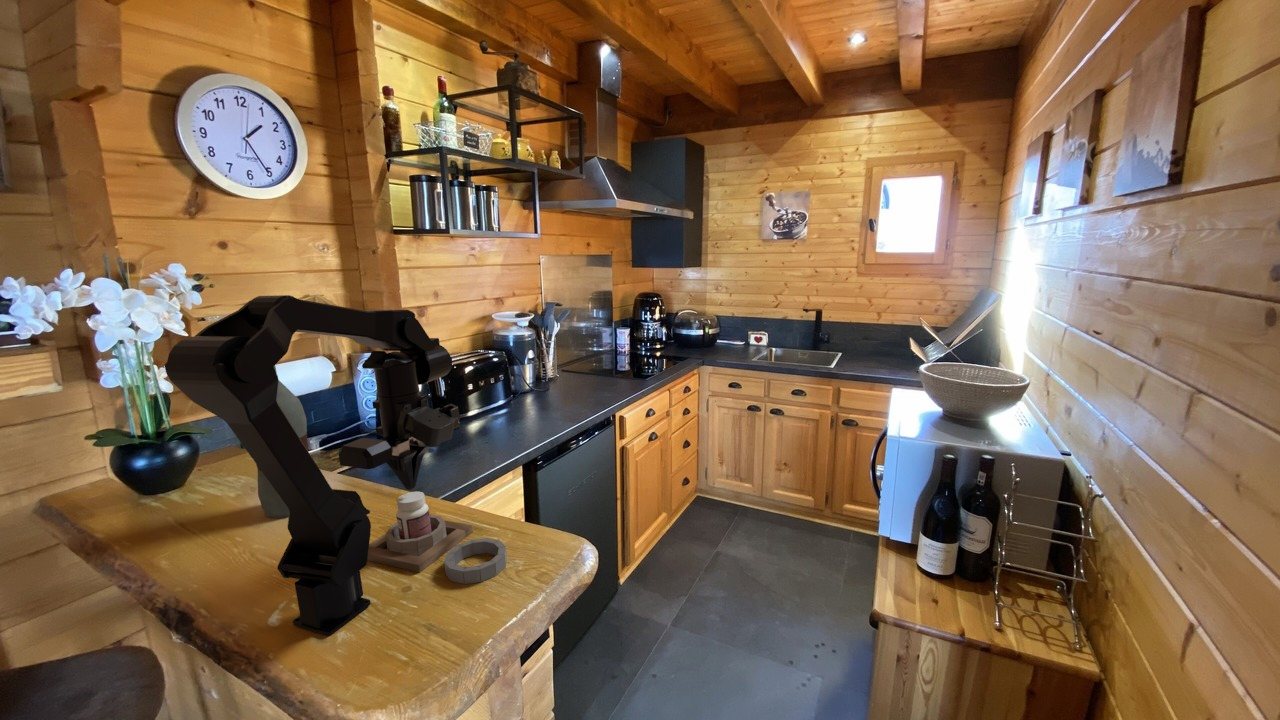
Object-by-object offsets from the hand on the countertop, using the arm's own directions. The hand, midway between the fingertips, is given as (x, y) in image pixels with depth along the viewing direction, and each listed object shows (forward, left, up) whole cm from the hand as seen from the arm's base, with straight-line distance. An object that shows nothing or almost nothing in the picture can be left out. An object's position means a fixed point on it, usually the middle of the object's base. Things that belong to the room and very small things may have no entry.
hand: (410, 488), depth 83 cm
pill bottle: (0, 0, -10) cm, 10 cm away
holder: (-2, -13, -10) cm, 16 cm away
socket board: (0, 0, -10) cm, 10 cm away
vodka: (+3, +33, -10) cm, 35 cm away
